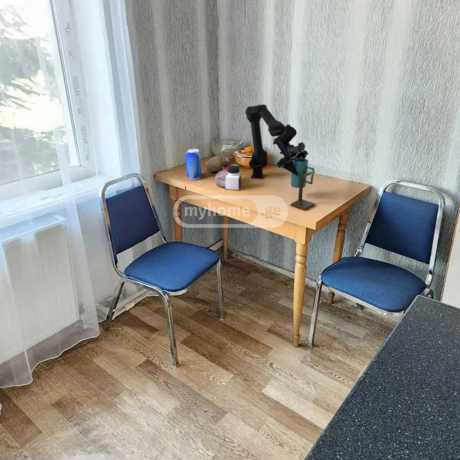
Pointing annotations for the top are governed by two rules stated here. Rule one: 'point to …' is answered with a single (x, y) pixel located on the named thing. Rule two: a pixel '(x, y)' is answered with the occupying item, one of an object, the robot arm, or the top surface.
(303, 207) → the mug stand
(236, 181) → the medicine bottle
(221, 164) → the brown rounded lump
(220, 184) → the food item
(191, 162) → the beer can
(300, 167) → the mug
